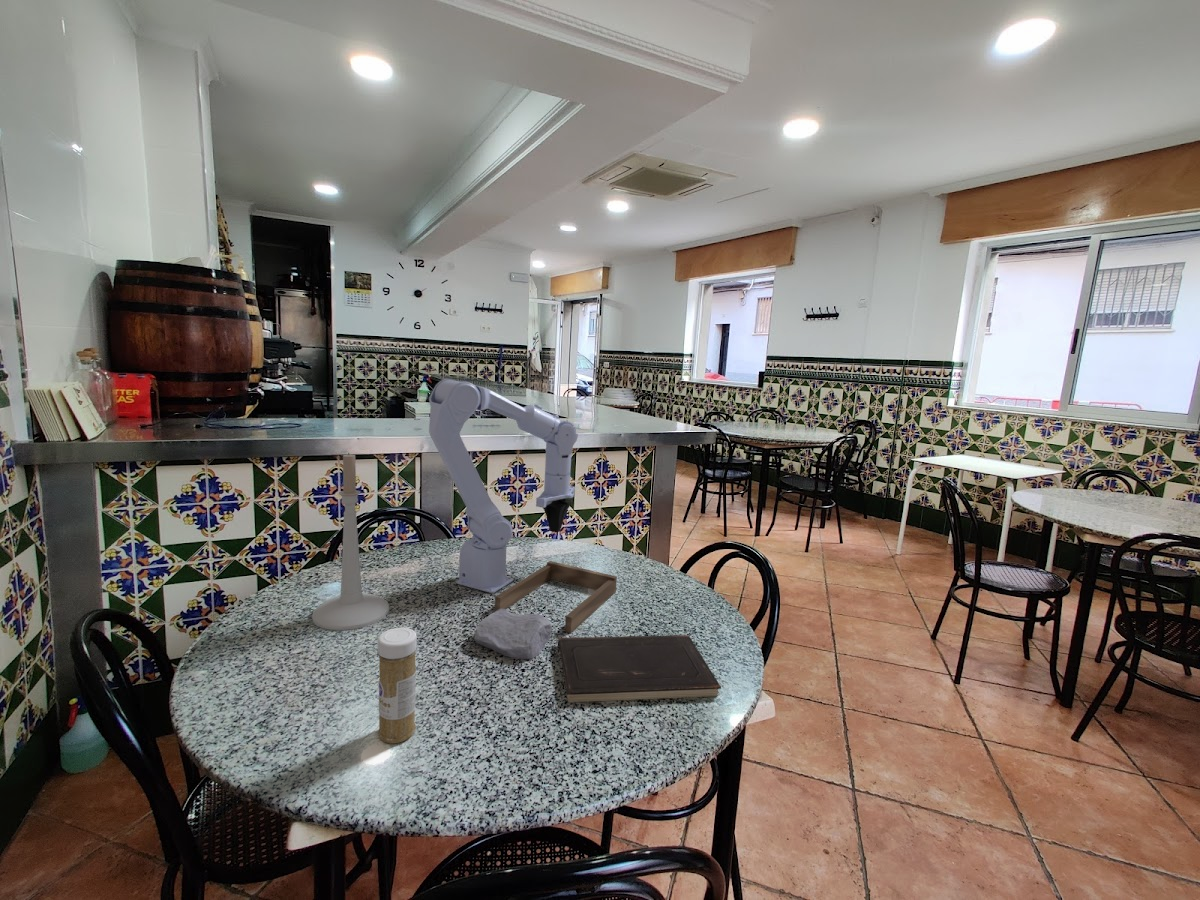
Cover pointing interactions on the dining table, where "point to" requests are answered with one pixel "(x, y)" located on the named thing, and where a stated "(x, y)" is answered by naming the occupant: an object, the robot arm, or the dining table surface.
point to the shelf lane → (569, 574)
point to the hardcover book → (634, 668)
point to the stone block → (514, 634)
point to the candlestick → (350, 571)
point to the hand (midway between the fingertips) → (554, 531)
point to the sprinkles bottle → (397, 684)
